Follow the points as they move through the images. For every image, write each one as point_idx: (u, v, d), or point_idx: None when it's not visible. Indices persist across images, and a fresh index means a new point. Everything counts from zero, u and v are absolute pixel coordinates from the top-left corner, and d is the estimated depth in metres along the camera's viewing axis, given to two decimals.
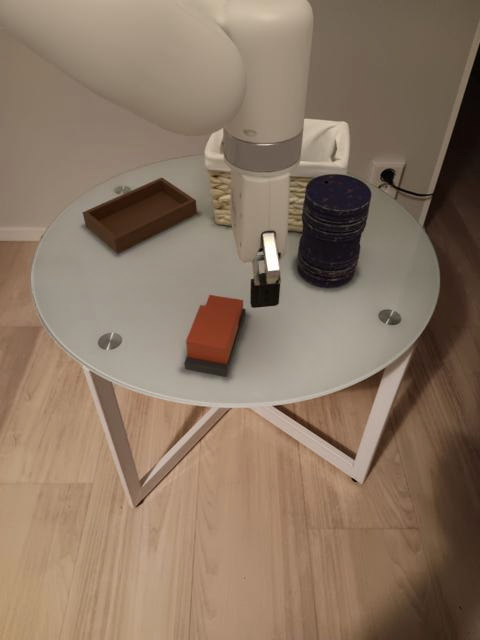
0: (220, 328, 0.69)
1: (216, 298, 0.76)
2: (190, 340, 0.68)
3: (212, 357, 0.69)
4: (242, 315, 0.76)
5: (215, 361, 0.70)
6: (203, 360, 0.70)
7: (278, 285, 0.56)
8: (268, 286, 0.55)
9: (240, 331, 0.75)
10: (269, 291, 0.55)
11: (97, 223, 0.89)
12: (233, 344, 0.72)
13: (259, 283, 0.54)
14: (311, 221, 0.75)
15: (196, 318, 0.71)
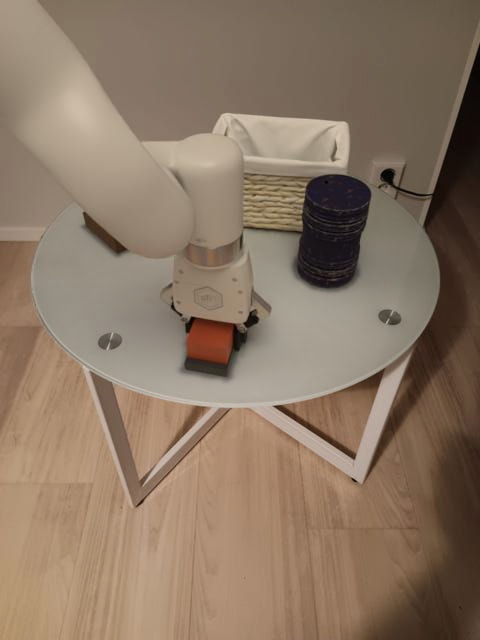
0: (220, 328, 0.69)
1: None
2: (190, 340, 0.68)
3: (212, 357, 0.69)
4: None
5: (215, 361, 0.70)
6: (203, 360, 0.70)
7: None
8: None
9: None
10: (246, 329, 0.71)
11: (97, 223, 0.89)
12: (233, 344, 0.72)
13: (246, 327, 0.69)
14: (311, 221, 0.75)
15: (196, 318, 0.71)
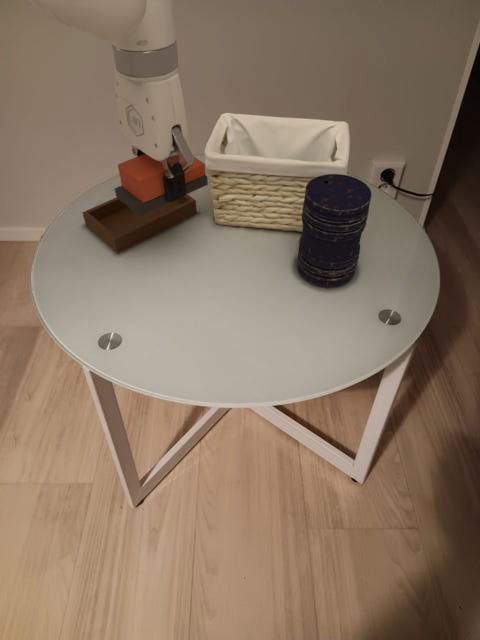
0: (153, 167, 0.69)
1: None
2: (120, 165, 0.70)
3: (134, 191, 0.70)
4: (198, 179, 0.74)
5: (136, 196, 0.70)
6: (129, 193, 0.71)
7: (183, 176, 0.70)
8: (178, 177, 0.69)
9: (188, 192, 0.74)
10: (180, 181, 0.70)
11: (97, 223, 0.89)
12: None
13: (173, 175, 0.68)
14: (311, 221, 0.75)
15: (144, 154, 0.72)
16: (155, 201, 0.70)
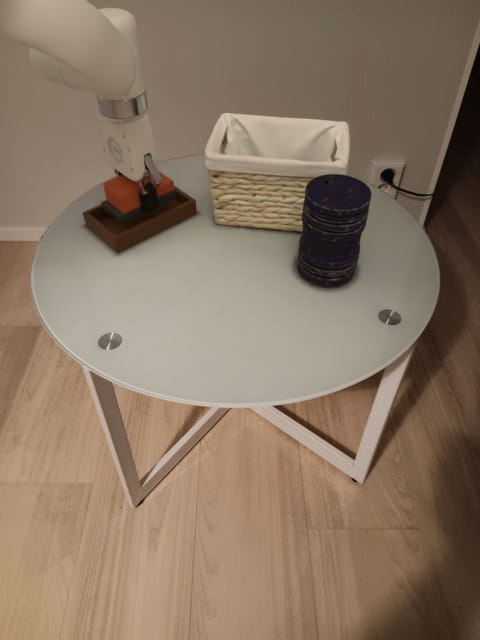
0: (131, 185, 0.87)
1: None
2: (105, 183, 0.87)
3: (116, 204, 0.88)
4: (168, 193, 0.92)
5: (118, 208, 0.88)
6: (112, 205, 0.89)
7: (155, 192, 0.88)
8: (151, 193, 0.87)
9: (160, 204, 0.92)
10: (152, 196, 0.88)
11: (97, 223, 0.89)
12: None
13: (146, 192, 0.86)
14: (311, 221, 0.75)
15: None
16: (133, 212, 0.88)
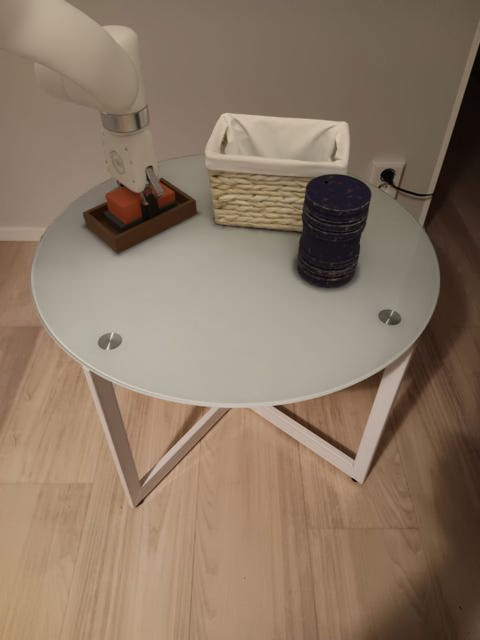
0: (132, 196, 0.89)
1: None
2: (107, 195, 0.89)
3: (118, 215, 0.89)
4: (169, 203, 0.93)
5: (120, 219, 0.90)
6: (114, 216, 0.91)
7: (156, 202, 0.90)
8: (152, 204, 0.89)
9: None
10: (153, 207, 0.89)
11: (97, 223, 0.89)
12: None
13: (148, 203, 0.87)
14: (311, 221, 0.75)
15: None
16: (135, 222, 0.90)
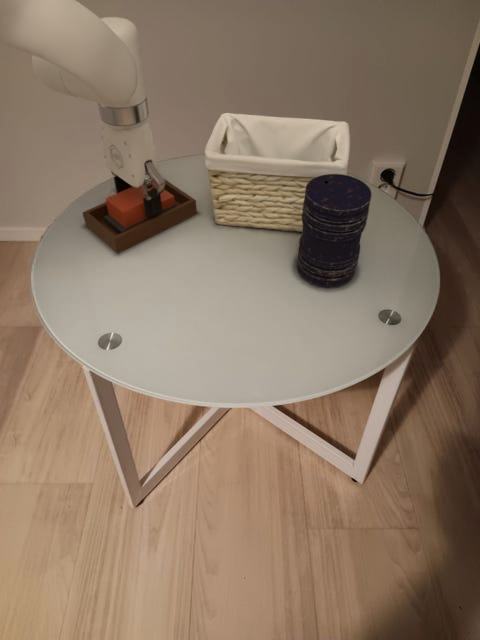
0: (133, 201, 0.89)
1: None
2: (107, 199, 0.90)
3: (118, 219, 0.90)
4: (169, 208, 0.94)
5: (120, 223, 0.90)
6: (115, 220, 0.91)
7: (159, 197, 0.88)
8: (155, 198, 0.87)
9: None
10: (156, 202, 0.87)
11: (97, 223, 0.89)
12: (143, 220, 0.91)
13: (150, 197, 0.85)
14: (311, 221, 0.75)
15: (126, 189, 0.92)
16: None
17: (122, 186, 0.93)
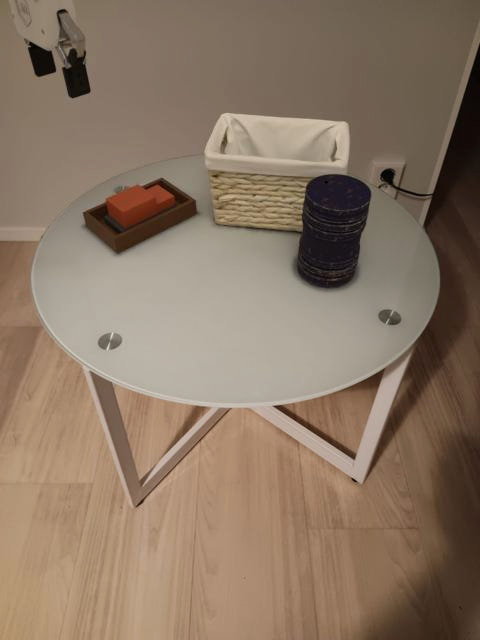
0: (133, 201, 0.89)
1: (159, 188, 0.95)
2: (107, 199, 0.90)
3: (118, 219, 0.90)
4: (169, 208, 0.94)
5: (120, 223, 0.90)
6: (115, 220, 0.91)
7: (85, 69, 0.69)
8: (78, 68, 0.67)
9: None
10: (80, 74, 0.68)
11: (97, 223, 0.89)
12: (143, 220, 0.91)
13: (70, 64, 0.66)
14: (311, 221, 0.75)
15: (126, 189, 0.92)
16: None
17: (40, 62, 0.73)
